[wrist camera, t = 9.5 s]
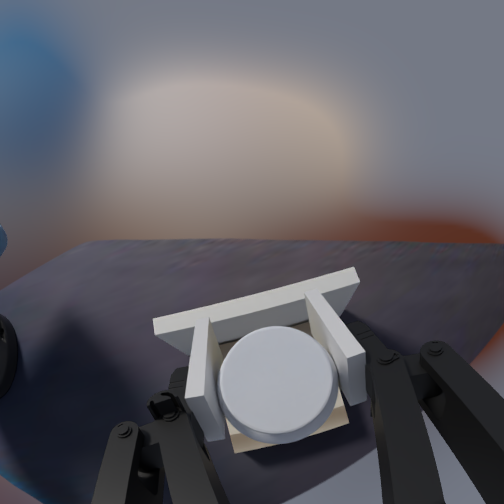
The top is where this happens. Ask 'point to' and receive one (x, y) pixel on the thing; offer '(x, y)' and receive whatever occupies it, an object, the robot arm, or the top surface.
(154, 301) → the top surface
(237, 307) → the white backstop wall
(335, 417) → the birch socket block
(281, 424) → the supplement bottle
